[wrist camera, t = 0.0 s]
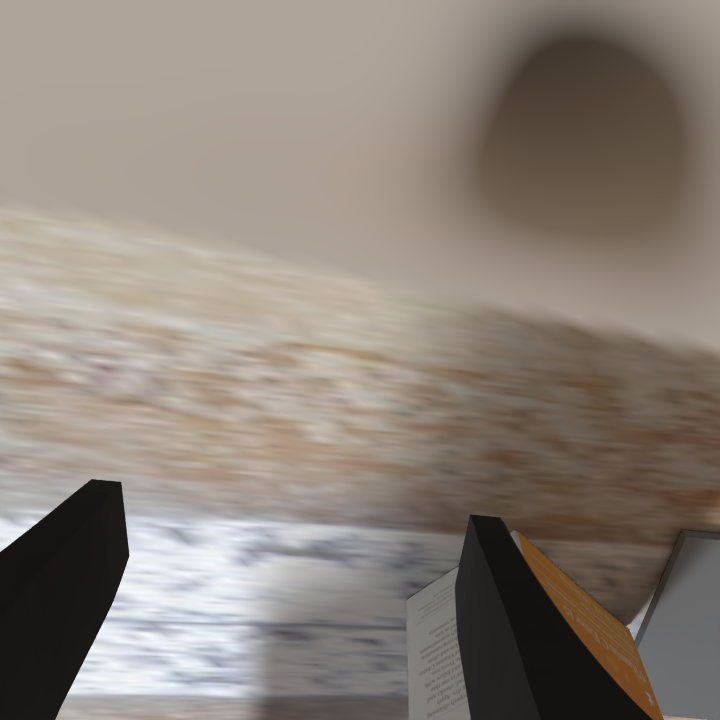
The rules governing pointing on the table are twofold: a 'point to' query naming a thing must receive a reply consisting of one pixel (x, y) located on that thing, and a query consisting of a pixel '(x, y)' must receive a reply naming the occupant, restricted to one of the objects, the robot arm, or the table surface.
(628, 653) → the small box
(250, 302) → the table surface
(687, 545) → the mat
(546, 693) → the robot arm
